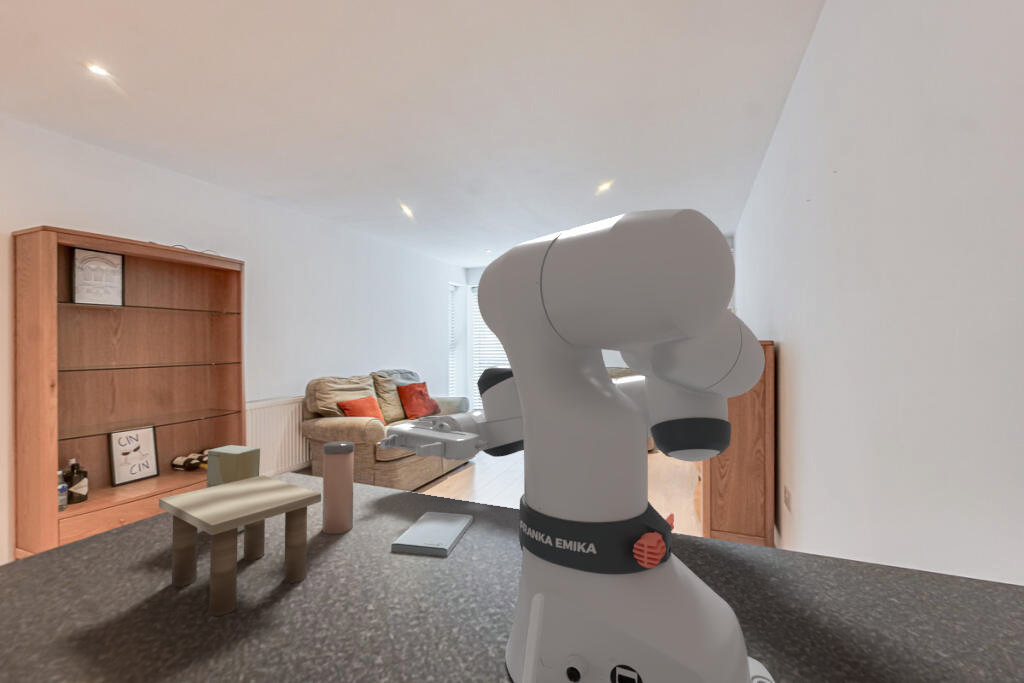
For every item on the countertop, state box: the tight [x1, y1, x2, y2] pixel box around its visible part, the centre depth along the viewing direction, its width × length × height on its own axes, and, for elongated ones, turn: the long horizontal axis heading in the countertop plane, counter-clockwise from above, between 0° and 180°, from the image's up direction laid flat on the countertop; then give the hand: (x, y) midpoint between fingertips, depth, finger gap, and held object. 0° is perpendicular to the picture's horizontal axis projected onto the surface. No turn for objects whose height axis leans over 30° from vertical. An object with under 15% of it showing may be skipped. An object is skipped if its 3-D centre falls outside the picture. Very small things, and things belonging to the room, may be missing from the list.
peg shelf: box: [158, 475, 322, 617], centre depth 54 cm, size 14×12×10 cm
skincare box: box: [205, 444, 261, 534], centre depth 70 cm, size 6×4×12 cm
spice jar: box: [322, 440, 355, 535], centre depth 69 cm, size 5×5×13 cm
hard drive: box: [390, 511, 474, 557], centre depth 67 cm, size 2×8×12 cm
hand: (399, 448), depth 80 cm, fingers open, 8 cm apart
